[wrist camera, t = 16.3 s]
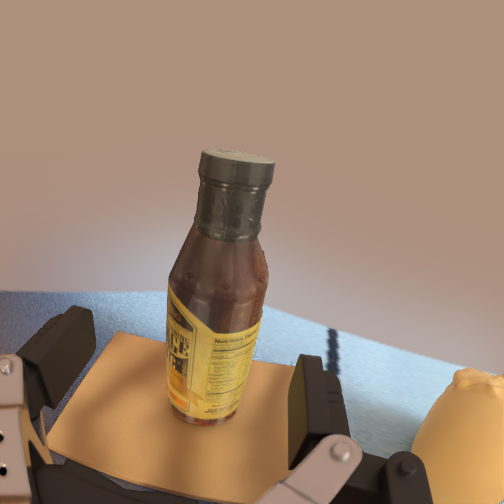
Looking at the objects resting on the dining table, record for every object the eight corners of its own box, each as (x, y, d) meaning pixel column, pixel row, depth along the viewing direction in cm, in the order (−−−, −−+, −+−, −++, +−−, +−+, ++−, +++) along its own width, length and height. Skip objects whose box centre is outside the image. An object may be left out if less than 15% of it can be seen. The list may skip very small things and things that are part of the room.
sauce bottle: (166, 376, 26) (180, 142, 19) (233, 378, 28) (274, 154, 21) (167, 434, 20) (178, 150, 13) (247, 433, 22) (310, 168, 15)
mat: (320, 374, 31) (322, 369, 31) (337, 510, 16) (341, 506, 16) (117, 336, 31) (117, 330, 31) (45, 447, 16) (42, 442, 16)
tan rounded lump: (498, 455, 19) (560, 376, 15) (472, 545, 10) (571, 469, 6) (419, 415, 26) (470, 330, 22) (369, 497, 17) (446, 410, 13)
